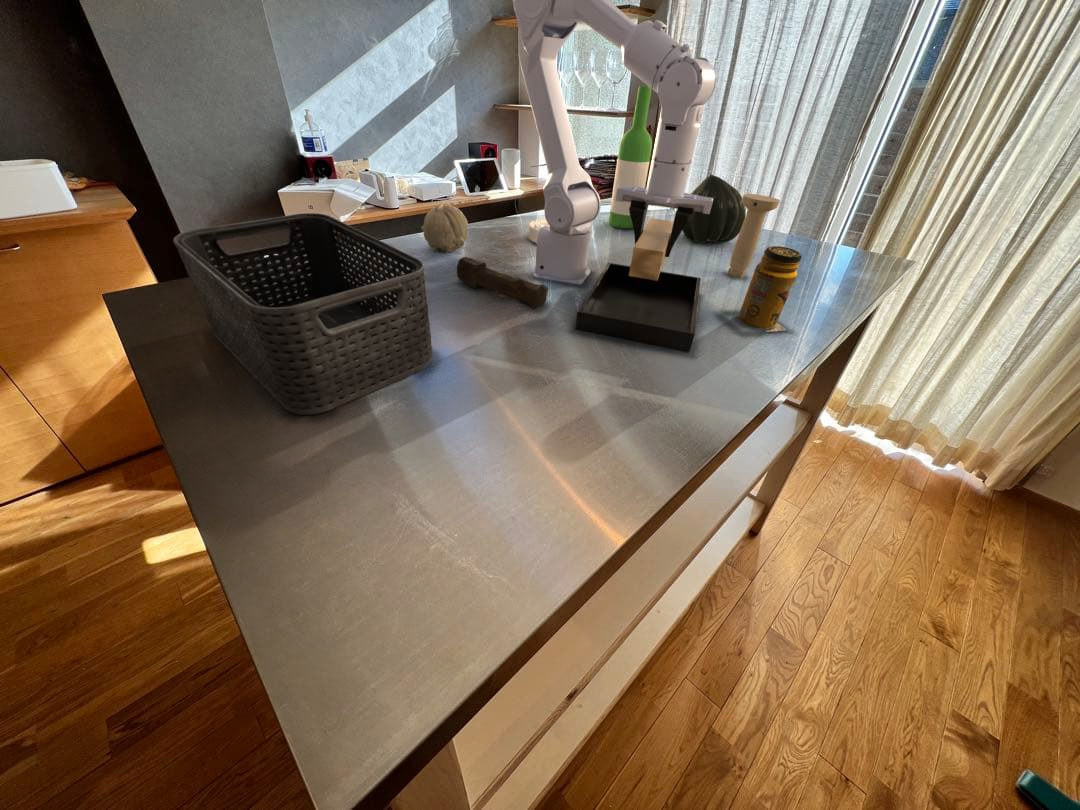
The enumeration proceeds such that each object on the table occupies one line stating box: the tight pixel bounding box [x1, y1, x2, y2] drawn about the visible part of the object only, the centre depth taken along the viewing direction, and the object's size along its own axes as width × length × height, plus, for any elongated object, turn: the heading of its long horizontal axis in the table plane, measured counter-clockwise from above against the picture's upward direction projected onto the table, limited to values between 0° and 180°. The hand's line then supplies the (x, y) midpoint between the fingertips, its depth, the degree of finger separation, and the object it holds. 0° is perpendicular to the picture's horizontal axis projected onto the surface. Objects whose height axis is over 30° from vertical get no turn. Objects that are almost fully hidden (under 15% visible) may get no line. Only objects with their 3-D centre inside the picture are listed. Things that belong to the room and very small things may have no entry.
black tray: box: [575, 262, 702, 354], centre depth 74 cm, size 17×23×3 cm
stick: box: [629, 217, 674, 281], centre depth 73 cm, size 4×18×4 cm, turn 161°
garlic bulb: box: [420, 204, 469, 253], centre depth 92 cm, size 9×8×10 cm
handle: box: [727, 193, 781, 279], centre depth 87 cm, size 5×6×15 cm
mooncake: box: [528, 218, 549, 245], centre depth 103 cm, size 12×12×4 cm
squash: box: [682, 174, 747, 244], centre depth 107 cm, size 14×15×15 cm
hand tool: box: [456, 256, 549, 310], centre depth 77 cm, size 19×4×5 cm, turn 53°
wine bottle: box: [608, 85, 653, 230], centre depth 107 cm, size 8×8×30 cm
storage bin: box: [172, 212, 434, 416], centre depth 57 cm, size 29×19×13 cm
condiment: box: [721, 245, 803, 333], centre depth 70 cm, size 7×8×12 cm
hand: (651, 252), depth 73 cm, fingers closed on stick, 4 cm apart
